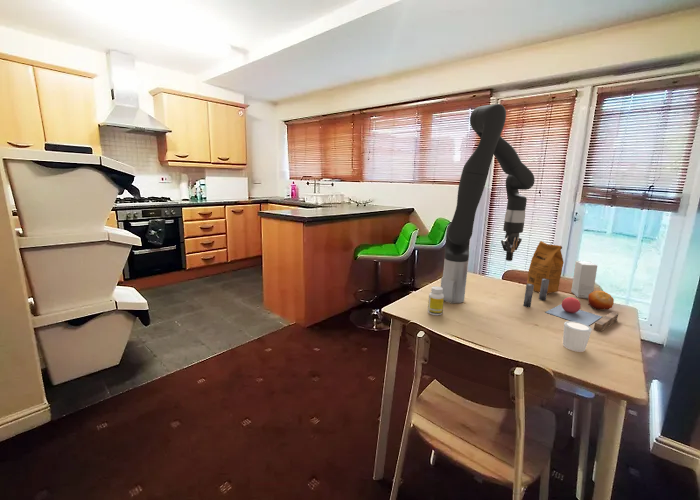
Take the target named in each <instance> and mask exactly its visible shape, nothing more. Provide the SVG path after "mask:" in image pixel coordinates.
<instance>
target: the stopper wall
mask: <svg viewBox="0 0 700 500" xmlns="http://www.w3.org/2000/svg"><path fill="white" fill-rule="evenodd" d="M618 317H619V314H618V313H616V312H613V311H611V312H609V313H608V314H606V315H604V316H602V318H600V319H599V320H597V321H596V322H594V326H593V331H597V332H602V331H604V330H605V329H607V328H608V327H609V325H610V326H611V325H612V324H614V323H615V322H617V321H618ZM616 320H617V321H616ZM613 322H614V323H613Z"/></svg>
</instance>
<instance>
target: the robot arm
mask: <svg viewBox="0 0 700 500" xmlns="http://www.w3.org/2000/svg"><path fill="white" fill-rule="evenodd" d="M506 121H507V111H506V108H505V106H504V105H503V104H500V103H494V104H487V105H481V106H477V107H476V108H474V109H473V110H472V112H471V113H470V117H469V123H470V126H471V128H472V130H473V132H475V134H476V135H477V136H478V137H479V138H480V140H479V142H478V144H477V147H476V148H475V149H474V150H473V152H472V154H470V157H469V158H468V159H467V161H466V162H465V164H464V166H463V168H462V170H461V171H462V172H461V174H460V178H459V183H458V188H457V189H458V190H457V197H456V199H457V200H456V207H455V211H454V214H453V217H452V219H451V221H450V222H449V223H448V225H447V227H446V232H445V234H446V235H445V247H444V262H443V271H442V277H440V278H441V279H440V287H441V288H443V292H442V294H443V295H444V301H443V302H447V303H449V304H460V303H464V301H465V296H466V295H465V294H466V287H467V286H466V285H467V279H468V278H467V275H468V268H469V258H470V251H469V250H470V240H471V238H472V236H473V232H474V231H473V230H474V223H475V219H476V213H477V209H478V207H479V204H480V202H481V198H482V195H483V193H484V190H485V187H486V184H487V180H488V176H489V171H490V168H491V164H492V161H493V157H494V158H495V159H496V161H497V162H498V164H499V166H500V167H501V170H502V171H503V173H505V174H506V175H507V176H506V179H505V189H506V197H507V203H506V211H505V215H504V223H503V228H502V229H503V232H505V234H504V235H505V236H504V239H501V242H500V243H501V246H502V249H503V251H505V252H506V253H505V254H506V255H505V261H508V262H511V261H513V259H514V258H513V257H514V253H515V251H518V249H519V246H520V244H521V243H522V240H523V239H522V237H521V238H520V234H522V233H524V228H525V220H526V209H527V203H528V202H527V200H528V199H527V196H525V195H522V194H520V192H519V190H520V191H523V190H524V191H525V190H529V189H530V190H531V189H532V188H533V186H534V185H535V180H536V179H535V176H534V173H533V172H532V170H531V169H530V168H529V167H527V166H526V164H525V163H523V162H522V160H521V158H520V156H519V155H518V152H517V151H516V149H515V148H514V147H513V146H512V145H511V144H510V143H509V142H508V141H507V140H506V139H504V138H503V137H502V136H501V134H502V132H503V129H504V126H505V123H506Z"/></svg>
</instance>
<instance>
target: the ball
mask: <svg viewBox="0 0 700 500" xmlns="http://www.w3.org/2000/svg"><path fill="white" fill-rule="evenodd" d="M561 304H562V308H563V309H564V310H565V311H566V312H568V313H576V312H578V311H579V310H581V307H582V306H581V302H580V301H579V299H577V298H576V297H572V296H568V297H565V298H564V299H563V300H562V301H561Z"/></svg>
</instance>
